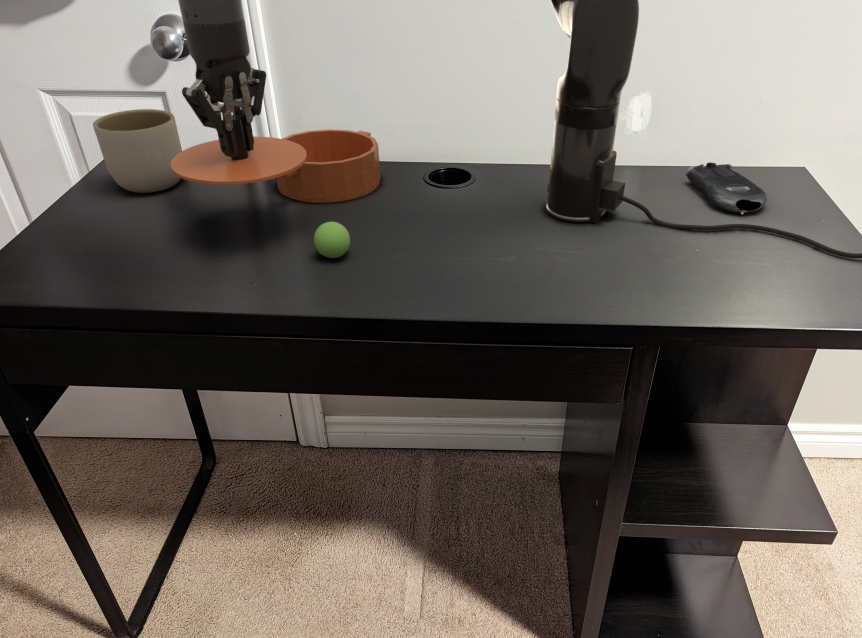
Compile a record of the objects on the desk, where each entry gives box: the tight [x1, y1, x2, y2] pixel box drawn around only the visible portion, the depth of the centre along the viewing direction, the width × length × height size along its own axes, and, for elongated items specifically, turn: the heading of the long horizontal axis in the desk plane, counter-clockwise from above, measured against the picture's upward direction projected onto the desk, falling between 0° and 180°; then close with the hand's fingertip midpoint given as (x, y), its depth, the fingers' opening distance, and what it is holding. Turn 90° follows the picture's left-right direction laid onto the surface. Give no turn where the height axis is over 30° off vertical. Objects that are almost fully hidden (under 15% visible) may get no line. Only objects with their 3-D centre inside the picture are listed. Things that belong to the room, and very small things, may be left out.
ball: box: [313, 221, 351, 259], centre depth 95 cm, size 5×5×5 cm
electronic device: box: [685, 162, 768, 215], centre depth 114 cm, size 9×6×15 cm
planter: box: [92, 108, 183, 194], centre depth 115 cm, size 12×12×11 cm
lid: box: [171, 114, 307, 186], centre depth 96 cm, size 19×19×7 cm
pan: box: [275, 128, 381, 204], centre depth 117 cm, size 18×23×6 cm
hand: (239, 152), depth 97 cm, fingers closed on lid, 2 cm apart
